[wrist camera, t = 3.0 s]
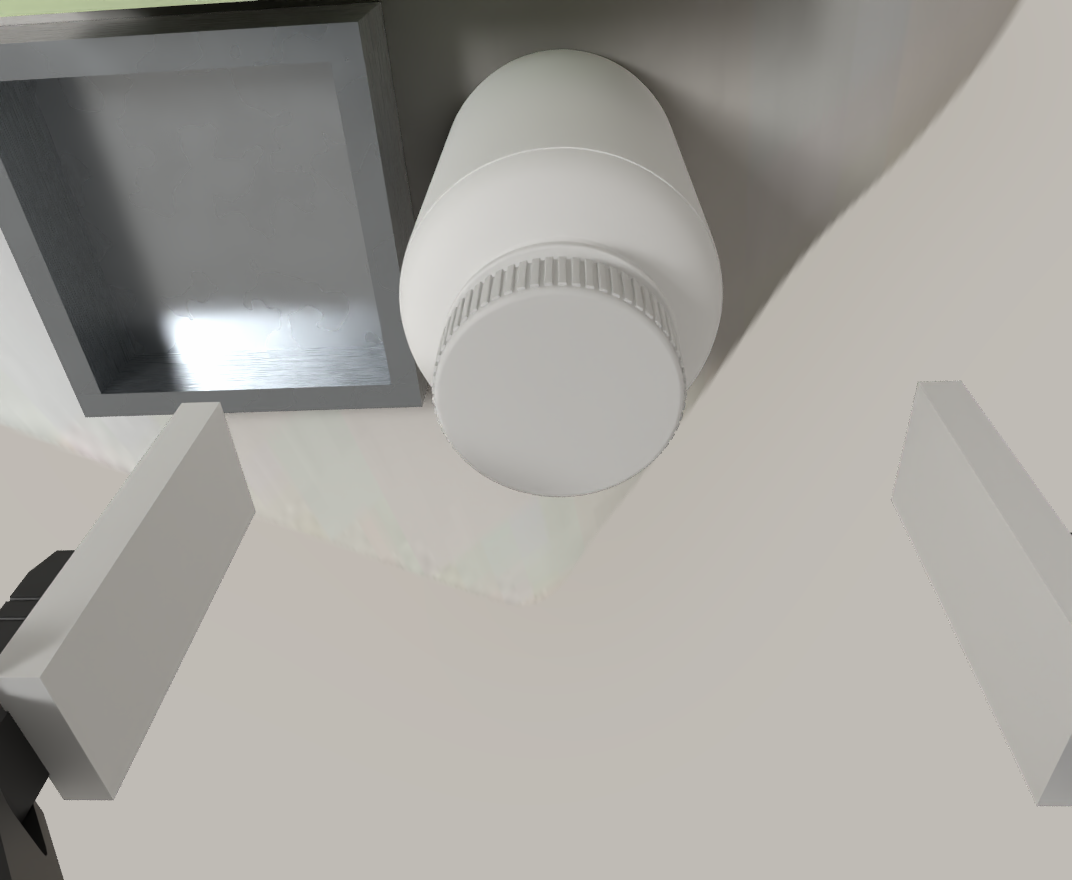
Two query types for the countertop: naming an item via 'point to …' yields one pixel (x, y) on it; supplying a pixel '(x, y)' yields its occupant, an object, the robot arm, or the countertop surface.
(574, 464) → the pill bottle
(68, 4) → the green roller box
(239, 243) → the grey square tray
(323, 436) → the countertop surface
